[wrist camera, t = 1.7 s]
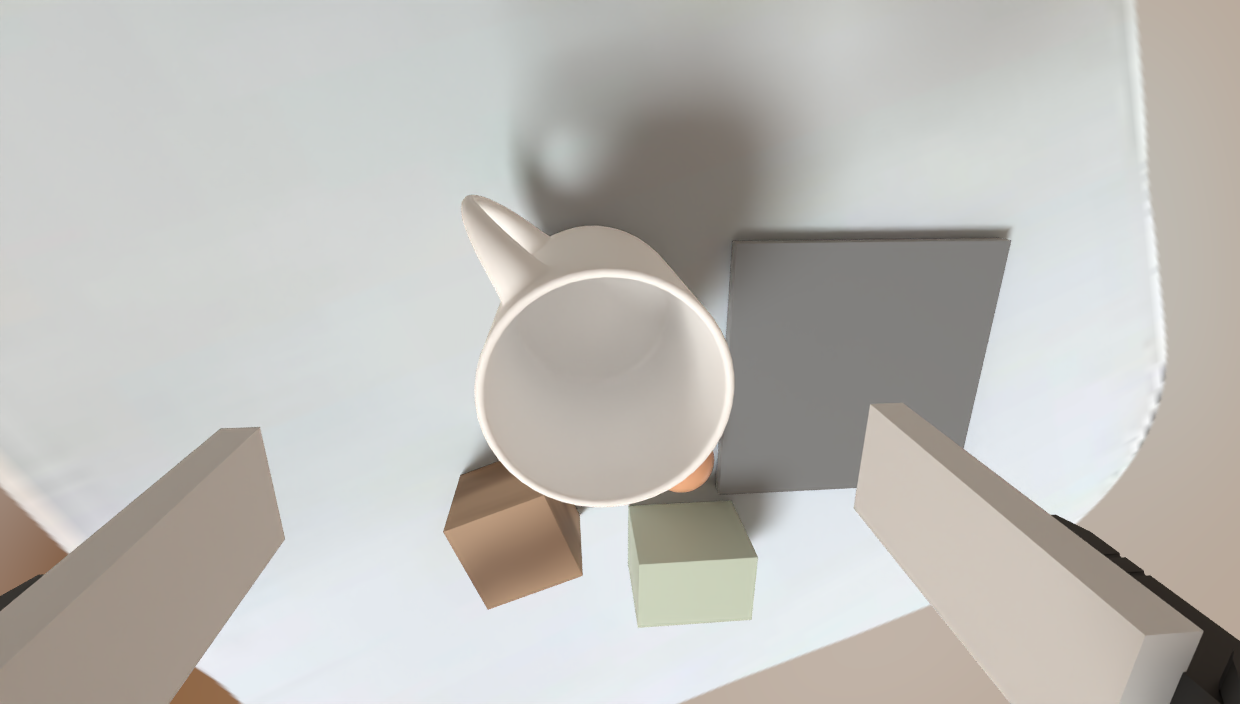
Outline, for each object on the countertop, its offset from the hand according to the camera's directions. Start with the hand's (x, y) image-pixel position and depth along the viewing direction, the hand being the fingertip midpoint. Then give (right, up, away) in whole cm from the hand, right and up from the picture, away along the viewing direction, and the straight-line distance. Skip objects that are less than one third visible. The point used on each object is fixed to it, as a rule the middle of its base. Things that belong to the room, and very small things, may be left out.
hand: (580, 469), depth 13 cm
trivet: (+13, +2, +19) cm, 23 cm away
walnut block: (-5, -5, +20) cm, 21 cm away
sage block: (+4, -8, +22) cm, 23 cm away
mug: (-2, +6, +16) cm, 17 cm away
